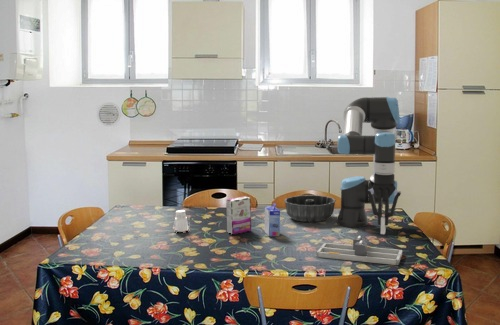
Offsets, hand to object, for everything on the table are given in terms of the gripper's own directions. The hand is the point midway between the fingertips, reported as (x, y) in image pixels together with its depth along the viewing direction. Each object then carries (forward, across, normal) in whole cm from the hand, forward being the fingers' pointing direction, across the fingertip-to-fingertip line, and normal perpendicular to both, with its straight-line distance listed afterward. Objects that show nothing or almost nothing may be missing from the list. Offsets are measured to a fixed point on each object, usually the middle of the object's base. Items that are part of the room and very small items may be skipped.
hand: (383, 233), depth 220 cm
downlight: (+12, -98, +18) cm, 100 cm away
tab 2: (+11, -9, 0) cm, 14 cm away
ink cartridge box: (+12, -55, +27) cm, 62 cm away
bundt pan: (+12, -46, +61) cm, 77 cm away
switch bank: (+12, -10, +4) cm, 16 cm away
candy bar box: (+12, -71, +25) cm, 76 cm away
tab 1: (+11, -10, +7) cm, 17 cm away
